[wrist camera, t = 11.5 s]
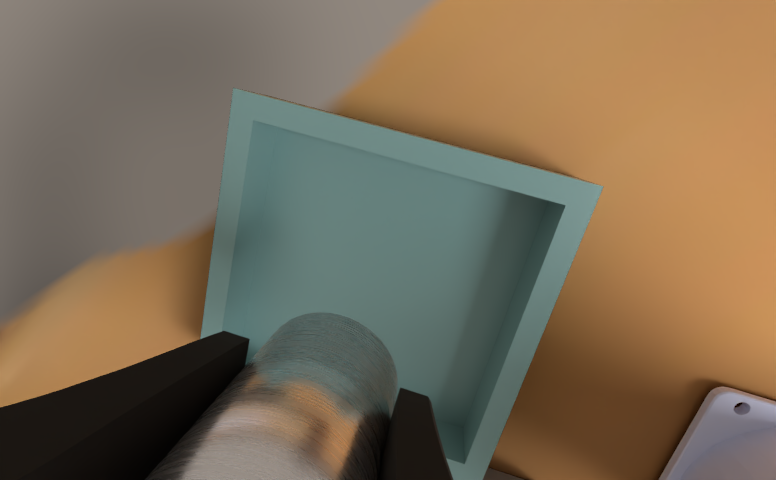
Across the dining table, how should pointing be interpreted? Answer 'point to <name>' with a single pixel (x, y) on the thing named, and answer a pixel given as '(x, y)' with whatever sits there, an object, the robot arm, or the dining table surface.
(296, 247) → the trough
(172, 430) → the robot arm
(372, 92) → the dining table surface
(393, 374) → the steel cell
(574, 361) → the dining table surface
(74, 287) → the dining table surface
